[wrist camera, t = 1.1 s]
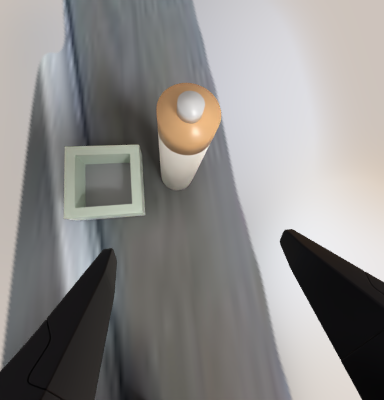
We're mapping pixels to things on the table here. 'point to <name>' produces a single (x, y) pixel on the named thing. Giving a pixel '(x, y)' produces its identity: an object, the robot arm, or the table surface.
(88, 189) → the frame
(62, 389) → the robot arm
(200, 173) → the table surface
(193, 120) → the cell
